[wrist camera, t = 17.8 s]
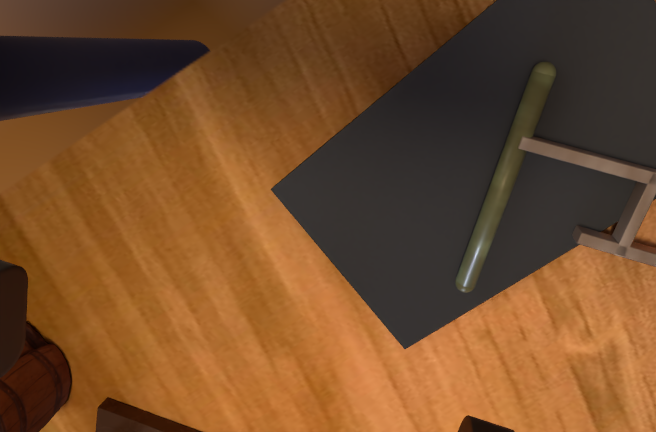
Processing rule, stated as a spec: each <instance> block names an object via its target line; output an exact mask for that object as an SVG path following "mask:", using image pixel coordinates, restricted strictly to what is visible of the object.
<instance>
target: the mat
mask: <svg viewBox="0 0 656 432" xmlns="http://www.w3.org/2000/svg"><path fill="white" fill-rule="evenodd" d="M540 62H550V63H551V64H553V65H554V67H555V68H556V77H555V79H554V82H553V84H552V87H551V90H550V92H549V95H548V97H547V100H546V103H545V105H544V108H543V111H542V113H541V116H540V118H539V121H538V124H537V126H536V129H535V131H534V134H533V136H534V137H538V138H542V139H545V140H549V141H553V142H556V143H560V144H564V145H567V146H571V147H575V148H578V149H582V150H586V151H590V152H593V153H597V154H601V155H604V156H608V157H612V158H615V159H619V160H623V161H626V162H630V163H634V164H637V165H641V166H645V167H649V168H652V169H656V2H655V1H654V0H497V1H495V2H494V3H493V4H492V5H491V6H489V7H488V8H487V9H486V10H485V11H483V12H482V13H481V14H480V15H479V16H478V17H476V18H475V19H474V20H473V21H472V22H470V23H469V24H468V25H467V26H466V27H464V28H463V29H462V30H461V31H460V32H458V33H457V34H456V35H455V36H454V37H452V38H451V39H450V40H449V41H448V42H446V43H445V44H444V45H443V46H442V47H440V48H439V49H438V50H437V51H436V52H434V53H433V54H432V55H431V56H430V57H428V58H427V59H426V60H425V61H424V62H422V63H421V64H420V65H419V66H418V67H416V68H415V69H414V70H413V71H412V72H410V73H409V74H408V75H407V76H406V77H404V78H403V79H402V80H401V81H400V82H399V83H397V84H396V85H395V86H394V87H393V88H391V89H390V90H389V91H388V92H387V93H385V94H384V95H383V96H382V97H381V98H379V99H378V100H377V101H376V102H375V103H373V104H372V105H371V106H370V107H369V108H367V109H366V110H365V111H364V112H363V113H361V114H360V115H359V116H358V117H357V118H355V119H354V120H353V121H352V122H351V123H349V124H348V125H347V126H346V127H345V128H343V129H342V130H341V131H340V132H339V133H337V134H336V135H335V136H334V137H333V138H331V139H330V140H329V141H328V142H327V143H325V144H324V145H323V146H322V147H321V148H319V149H318V150H317V151H316V152H315V153H314V154H312V155H311V156H310V157H309V158H308V159H306V160H305V161H304V162H303V163H302V164H300V165H299V166H298V167H297V168H296V169H294V170H293V171H292V172H291V173H290V174H288V175H287V176H286V177H285V178H284V179H282V180H281V181H280V182H279V183H278V184H276V185H275V186H274V187H273V188H272V189H271V190H272V191H273V193H274V194H275V195H276V196H277V197H278V199H279V200H280V201H281V202H282V203H283V205H284V206H285V207H286V208H287V209H288V211H289V212H290V213H291V214H292V215H293V216H294V218H295V219H296V220H297V221H298V222H299V224H300V225H301V226H302V227H303V228H304V230H305V231H306V232H307V233H308V234H309V236H310V237H311V238H312V239H313V240H314V242H315V243H316V244H317V245H318V246H319V247H320V249H321V250H322V251H323V252H324V253H325V255H326V256H327V257H328V258H329V259H330V261H331V262H332V263H333V264H334V265H335V267H336V268H337V269H338V270H339V271H340V273H341V274H342V275H343V276H344V277H345V278H346V280H347V281H348V282H349V283H350V284H351V286H352V287H353V288H354V289H355V290H356V292H357V293H358V294H359V295H360V296H361V298H362V299H363V300H364V301H365V302H366V304H367V305H368V306H369V307H370V308H371V309H372V311H373V312H374V313H375V314H376V315H377V317H378V318H379V319H380V320H381V321H382V323H383V324H384V325H385V326H386V327H387V329H388V330H389V331H390V332H391V333H392V335H393V336H394V337H395V338H396V339H397V340H398V342H399V343H400V344H401V345H402V346H403V348H404V349H406V348H408V347H410V346H411V345H413V344H415V343H416V342H418V341H420V340H421V339H423V338H425V337H426V336H428V335H430V334H431V333H433V332H435V331H436V330H438V329H440V328H441V327H443V326H445V325H446V324H448V323H450V322H451V321H453V320H455V319H456V318H458V317H460V316H461V315H463V314H465V313H466V312H468V311H470V310H471V309H473V308H475V307H476V306H478V305H480V304H481V303H483V302H485V301H486V300H488V299H490V298H491V297H493V296H495V295H496V294H498V293H500V292H501V291H503V290H505V289H506V288H508V287H510V286H511V285H513V284H515V283H516V282H518V281H520V280H521V279H523V278H525V277H526V276H528V275H530V274H531V273H533V272H535V271H536V270H538V269H540V268H541V267H543V266H545V265H546V264H548V263H550V262H551V261H553V260H555V259H556V258H558V257H560V256H561V255H563V254H565V253H566V252H568V251H570V250H571V249H573V248H575V247H576V246H578V245H580V244H577V243H576V241H575V239H574V238H573V236H572V234H573V231H574V229H575V227H576V226H577V225H578V226H581V227H585V228H588V229H592V230H595V231H598V232H601V231H603V230H605V229H606V228H608V227H610V226H611V225H613V224H615V223H616V222H618V221H619V219H620V217H621V215H622V213H623V211H624V209H625V206H626V204H627V202H628V200H629V198H630V196H631V194H632V192H633V189H634V187H635V185H636V183H637V181H634V180H630V179H627V178H623V177H620V176H616V175H612V174H609V173H605V172H601V171H598V170H594V169H590V168H587V167H583V166H580V165H576V164H572V163H569V162H565V161H561V160H558V159H554V158H551V157H547V156H543V155H540V154H536V153H532V152H529V151H527V152H526V155H525V158H524V160H523V163H522V165H521V168H520V171H519V173H518V176H517V178H516V181H515V184H514V186H513V189H512V191H511V194H510V197H509V199H508V202H507V205H506V207H505V210H504V212H503V215H502V218H501V220H500V223H499V225H498V228H497V231H496V233H495V236H494V238H493V241H492V244H491V246H490V249H489V252H488V254H487V257H486V259H485V262H484V265H483V267H482V270H481V272H480V275H479V278H478V280H477V283H476V285H475V288H474V289H473V290H472V291H470V292H467V293H465V292H461V291H460V290H458V289H457V287H456V284H455V280H456V277H457V274H458V271H459V269H460V266H461V263H462V261H463V258H464V255H465V252H466V250H467V247H468V244H469V241H470V239H471V236H472V233H473V230H474V228H475V225H476V222H477V220H478V217H479V214H480V211H481V209H482V206H483V203H484V200H485V198H486V195H487V192H488V189H489V187H490V184H491V181H492V178H493V176H494V173H495V170H496V168H497V165H498V162H499V159H500V157H501V154H502V151H503V148H504V146H505V143H506V140H507V137H508V135H509V132H510V129H511V127H512V124H513V121H514V118H515V116H516V113H517V110H518V107H519V105H520V102H521V99H522V96H523V94H524V91H525V88H526V86H527V83H528V80H529V77H530V75H531V72H532V70H533V68H534V66H535V65H537V64H538V63H540ZM655 199H656V195H655V197H654V199H653V200H655Z"/></svg>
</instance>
